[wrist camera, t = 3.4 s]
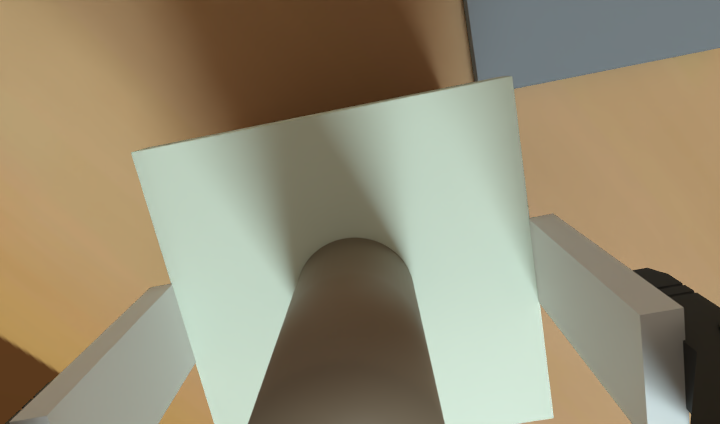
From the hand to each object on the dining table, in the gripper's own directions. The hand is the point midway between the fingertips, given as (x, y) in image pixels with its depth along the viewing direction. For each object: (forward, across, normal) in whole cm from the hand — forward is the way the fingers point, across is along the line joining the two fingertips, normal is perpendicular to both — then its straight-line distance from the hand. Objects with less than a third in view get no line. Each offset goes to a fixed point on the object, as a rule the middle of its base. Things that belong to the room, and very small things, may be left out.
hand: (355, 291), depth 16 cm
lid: (+1, 0, 0) cm, 1 cm away
